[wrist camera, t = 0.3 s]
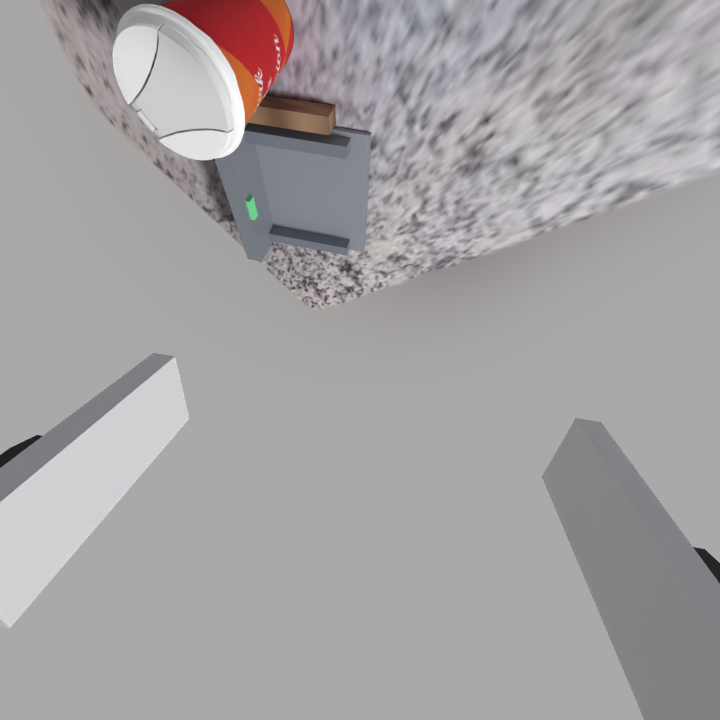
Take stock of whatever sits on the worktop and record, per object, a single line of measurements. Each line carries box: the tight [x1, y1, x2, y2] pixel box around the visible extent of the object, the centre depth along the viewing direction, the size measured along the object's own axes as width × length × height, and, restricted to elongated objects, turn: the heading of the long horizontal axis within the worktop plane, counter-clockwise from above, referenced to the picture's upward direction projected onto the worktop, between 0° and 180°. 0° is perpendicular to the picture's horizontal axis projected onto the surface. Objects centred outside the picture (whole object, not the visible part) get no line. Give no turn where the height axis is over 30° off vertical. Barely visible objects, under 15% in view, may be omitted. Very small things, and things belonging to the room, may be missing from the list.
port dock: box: [214, 122, 371, 261], centre depth 40 cm, size 15×15×6 cm
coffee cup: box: [112, 0, 294, 160], centre depth 25 cm, size 8×8×15 cm
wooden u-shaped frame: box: [167, 0, 336, 135], centre depth 28 cm, size 13×14×2 cm
